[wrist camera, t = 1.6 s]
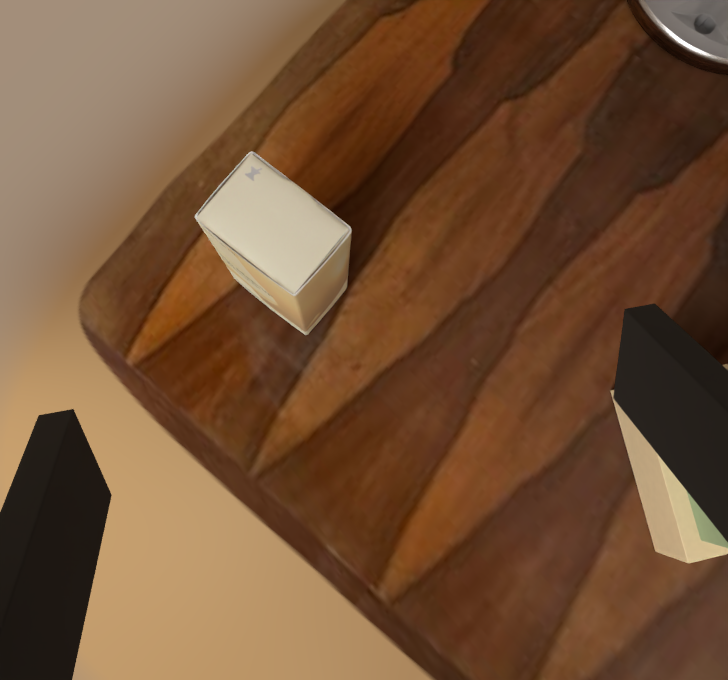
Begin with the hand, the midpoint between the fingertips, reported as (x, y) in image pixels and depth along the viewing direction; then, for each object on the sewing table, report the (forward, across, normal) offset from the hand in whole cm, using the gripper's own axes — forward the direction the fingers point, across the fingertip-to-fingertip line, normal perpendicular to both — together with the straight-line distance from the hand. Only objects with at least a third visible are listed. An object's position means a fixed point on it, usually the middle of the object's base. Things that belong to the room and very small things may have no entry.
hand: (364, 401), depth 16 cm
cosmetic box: (+25, -1, -10) cm, 27 cm away
